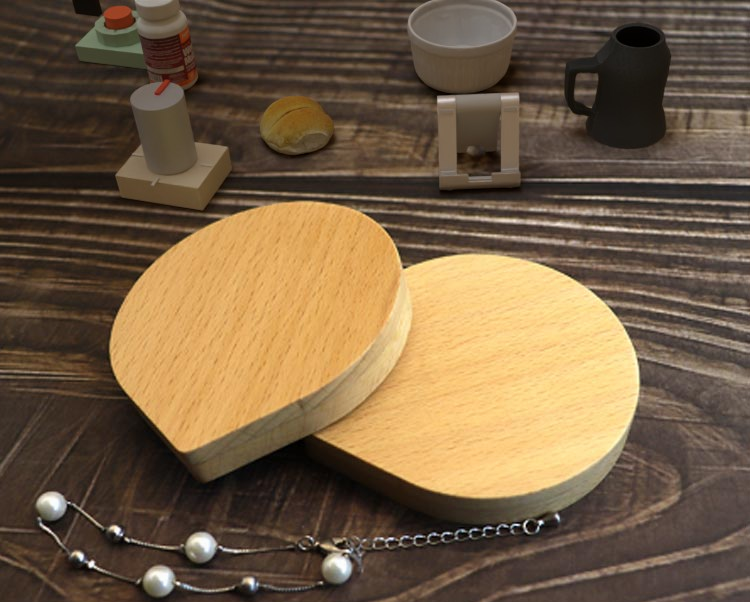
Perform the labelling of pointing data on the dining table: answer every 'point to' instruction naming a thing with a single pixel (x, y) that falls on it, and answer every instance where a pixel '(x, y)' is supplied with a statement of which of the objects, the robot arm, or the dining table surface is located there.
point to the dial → (164, 127)
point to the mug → (625, 87)
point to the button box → (112, 45)
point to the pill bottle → (166, 42)
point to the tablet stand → (478, 137)
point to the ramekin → (461, 43)
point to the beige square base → (176, 179)
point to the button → (118, 17)
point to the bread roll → (296, 125)
